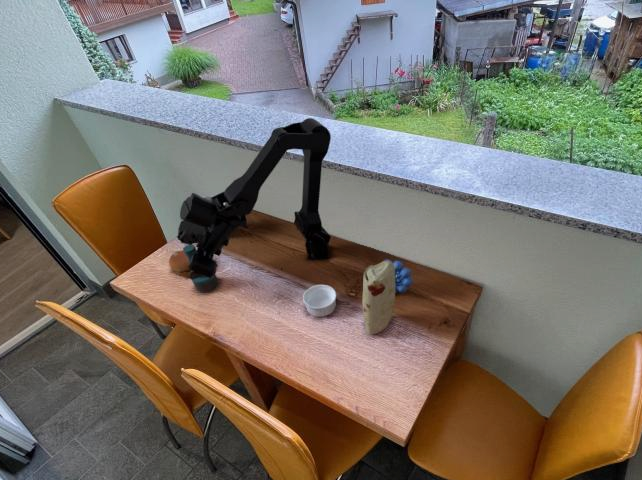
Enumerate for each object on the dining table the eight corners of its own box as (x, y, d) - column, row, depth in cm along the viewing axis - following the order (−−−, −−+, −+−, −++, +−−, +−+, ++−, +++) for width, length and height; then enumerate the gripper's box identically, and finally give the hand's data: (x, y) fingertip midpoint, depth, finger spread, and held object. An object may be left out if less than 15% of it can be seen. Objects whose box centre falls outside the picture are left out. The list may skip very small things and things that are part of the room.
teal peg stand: (223, 283, 102) (206, 246, 92) (204, 296, 99) (184, 258, 89) (210, 275, 105) (192, 237, 95) (192, 286, 102) (171, 249, 91)
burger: (198, 277, 104) (192, 266, 101) (167, 277, 104) (160, 266, 101) (209, 256, 111) (203, 245, 107) (180, 257, 111) (174, 245, 108)
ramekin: (323, 290, 100) (322, 279, 96) (344, 306, 95) (343, 295, 92) (299, 306, 95) (296, 295, 92) (319, 324, 91) (317, 313, 88)
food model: (377, 343, 87) (377, 286, 72) (357, 330, 89) (353, 273, 75) (399, 319, 92) (404, 262, 77) (379, 308, 95) (380, 250, 80)
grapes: (417, 290, 99) (421, 257, 90) (406, 305, 95) (409, 273, 86) (382, 276, 103) (382, 244, 94) (370, 290, 99) (369, 258, 91)
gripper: (196, 194, 91) (171, 233, 98) (181, 236, 79) (154, 277, 86) (235, 216, 98) (209, 251, 105) (228, 258, 85) (198, 295, 92)
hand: (193, 267), depth 97 cm, fingers open, 9 cm apart
